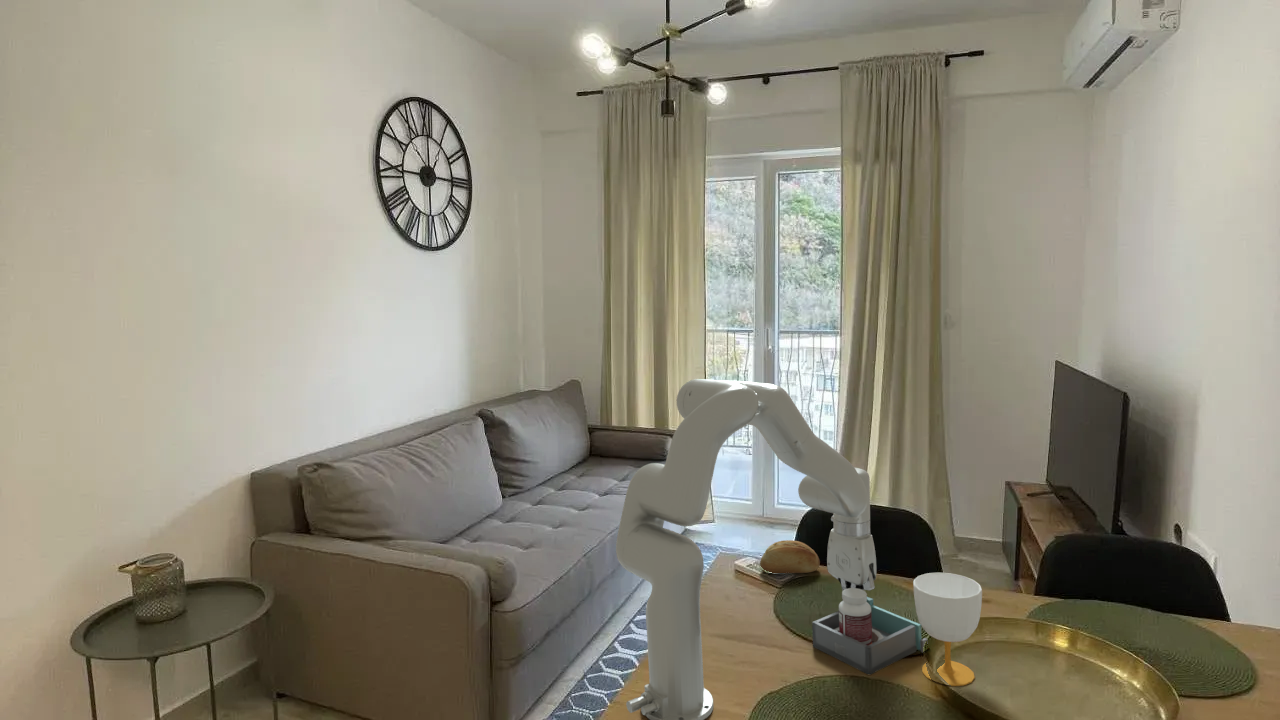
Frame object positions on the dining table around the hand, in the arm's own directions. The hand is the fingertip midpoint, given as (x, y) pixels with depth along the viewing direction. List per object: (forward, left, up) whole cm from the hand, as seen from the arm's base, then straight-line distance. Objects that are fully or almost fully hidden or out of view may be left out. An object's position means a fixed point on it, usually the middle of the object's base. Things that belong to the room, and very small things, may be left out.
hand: (852, 609), depth 159 cm
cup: (-3, -25, -3) cm, 25 cm away
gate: (0, -9, -3) cm, 10 cm away
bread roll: (+9, +28, -3) cm, 30 cm away
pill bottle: (-10, -9, -2) cm, 13 cm away
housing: (-6, -9, -3) cm, 12 cm away
